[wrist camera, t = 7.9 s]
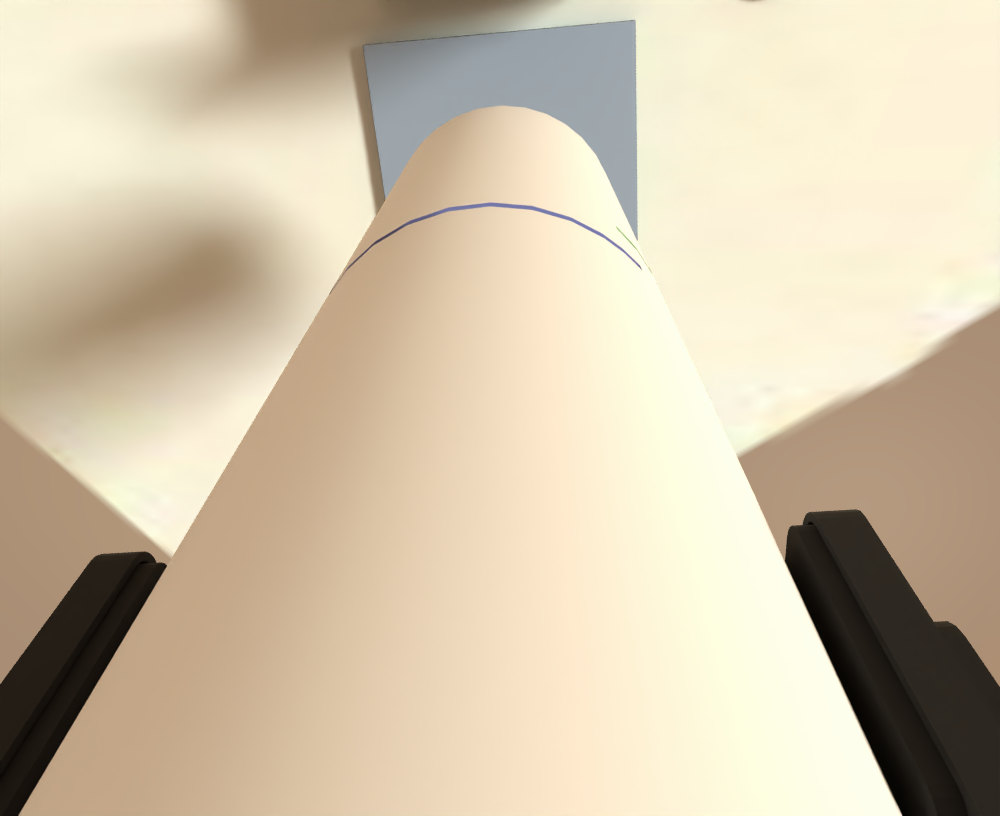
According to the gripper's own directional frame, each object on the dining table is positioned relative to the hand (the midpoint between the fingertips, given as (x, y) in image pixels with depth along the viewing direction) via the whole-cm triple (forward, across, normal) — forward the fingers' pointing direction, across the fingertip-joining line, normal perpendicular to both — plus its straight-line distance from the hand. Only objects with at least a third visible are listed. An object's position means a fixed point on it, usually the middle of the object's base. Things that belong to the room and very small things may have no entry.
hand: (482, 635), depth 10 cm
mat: (+33, 0, 0) cm, 33 cm away
